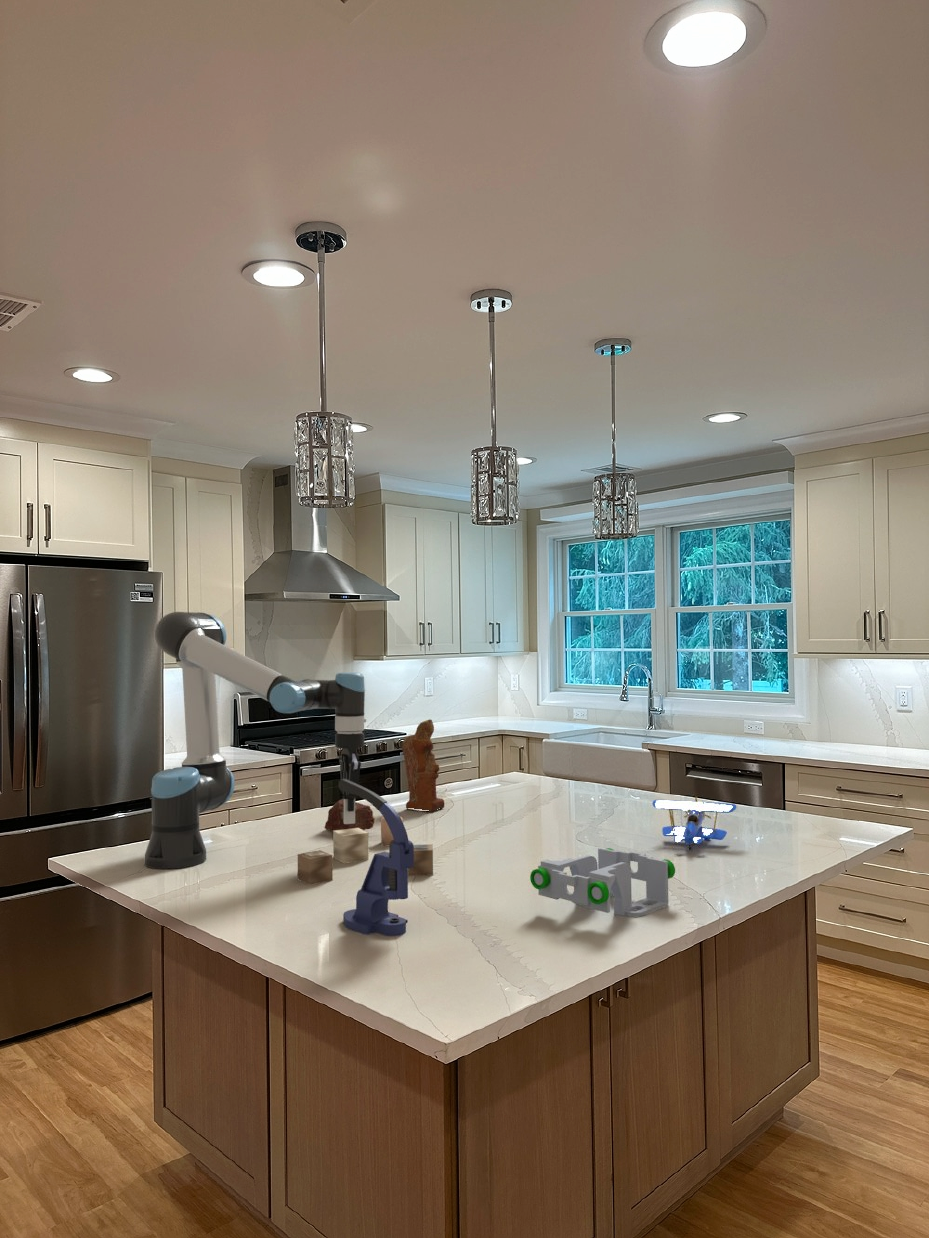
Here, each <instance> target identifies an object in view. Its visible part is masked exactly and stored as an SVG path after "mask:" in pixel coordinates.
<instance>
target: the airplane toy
mask: <svg viewBox="0 0 929 1238" xmlns="http://www.w3.org/2000/svg"><path fill="white" fill-rule="evenodd" d="M694 798H695V801H689V800H673V799H654V800H653V801H652V806H653V807H654V808H655V809H658V810H668V814H669V820H670V825H669V826H663V827H662V829H661V831H662V835H663V836H664V837H673V841H674V842H675V843H677V844H679V843H681V842H683V841H684V843H685V844H687V845H688V851H692V849H693V847H692V844H696V845H699V844H702V843H703V840H704V841H705V840H706V841H707V842H708V841H710V840H715V841H716V840H717V841H722V840H724V839H725V837H726V836H727V834H728V833H727V831H726V830H724V829H719V828H716V827H717V821H718V820H717V819H718V813H722V814H723V813H725V814H729V813H733V812H734V811H736V809H737V807H738V806H737V804H734V803H728V802H706V801H705V802H704V801H698V796H695V797H694ZM674 811H682V812H685V815H684V816H683V818H686V824H685V825H675V819H674ZM705 813H715V817H714V825H713V827H712V828H711V827H706V826H705V827H704V826H702V825H703V823H704V820H705V817H706V818H708V819H710V820H711V819H712V817H711V816H710V815H708V814H705Z"/></svg>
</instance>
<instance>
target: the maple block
mask: <svg viewBox="0 0 929 1238" xmlns="http://www.w3.org/2000/svg"><path fill="white" fill-rule="evenodd" d="M332 837H333V840H332V841H333V854H332V856H333V858H334V859H335V860H337V861H338V862H340V863H341V862H342V864H348V863H347V862H349V863H355V862H354V861H357V862H363V861H364V862H365V861H369V832H368V831H365V830H362V829H360V828H353V829H344V830H336V831H333V835H332Z"/></svg>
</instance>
